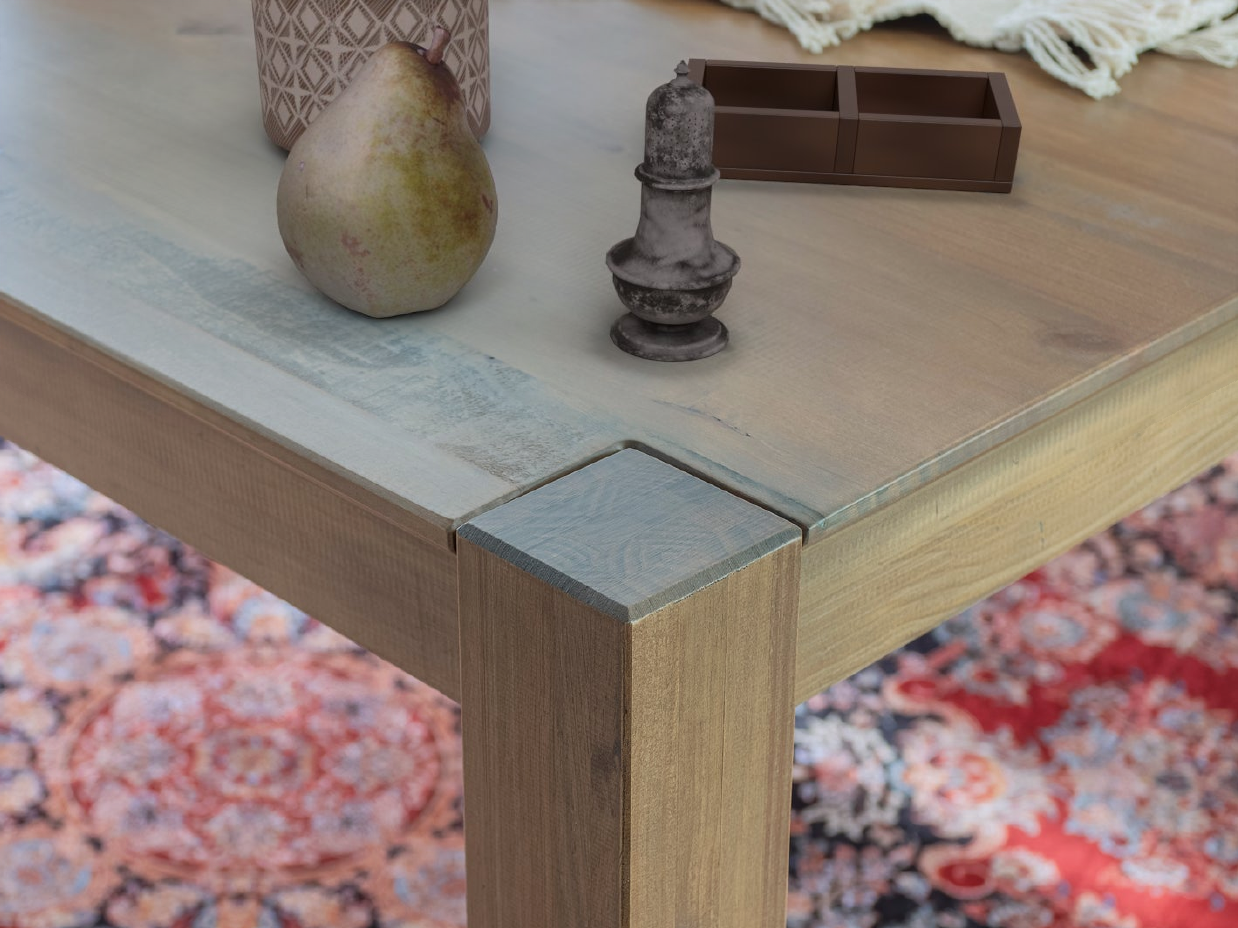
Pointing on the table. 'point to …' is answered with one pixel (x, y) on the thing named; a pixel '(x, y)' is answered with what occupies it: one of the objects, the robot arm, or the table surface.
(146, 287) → the table surface
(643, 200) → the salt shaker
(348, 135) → the fruit
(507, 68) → the table surface
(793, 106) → the rack
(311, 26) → the planter
